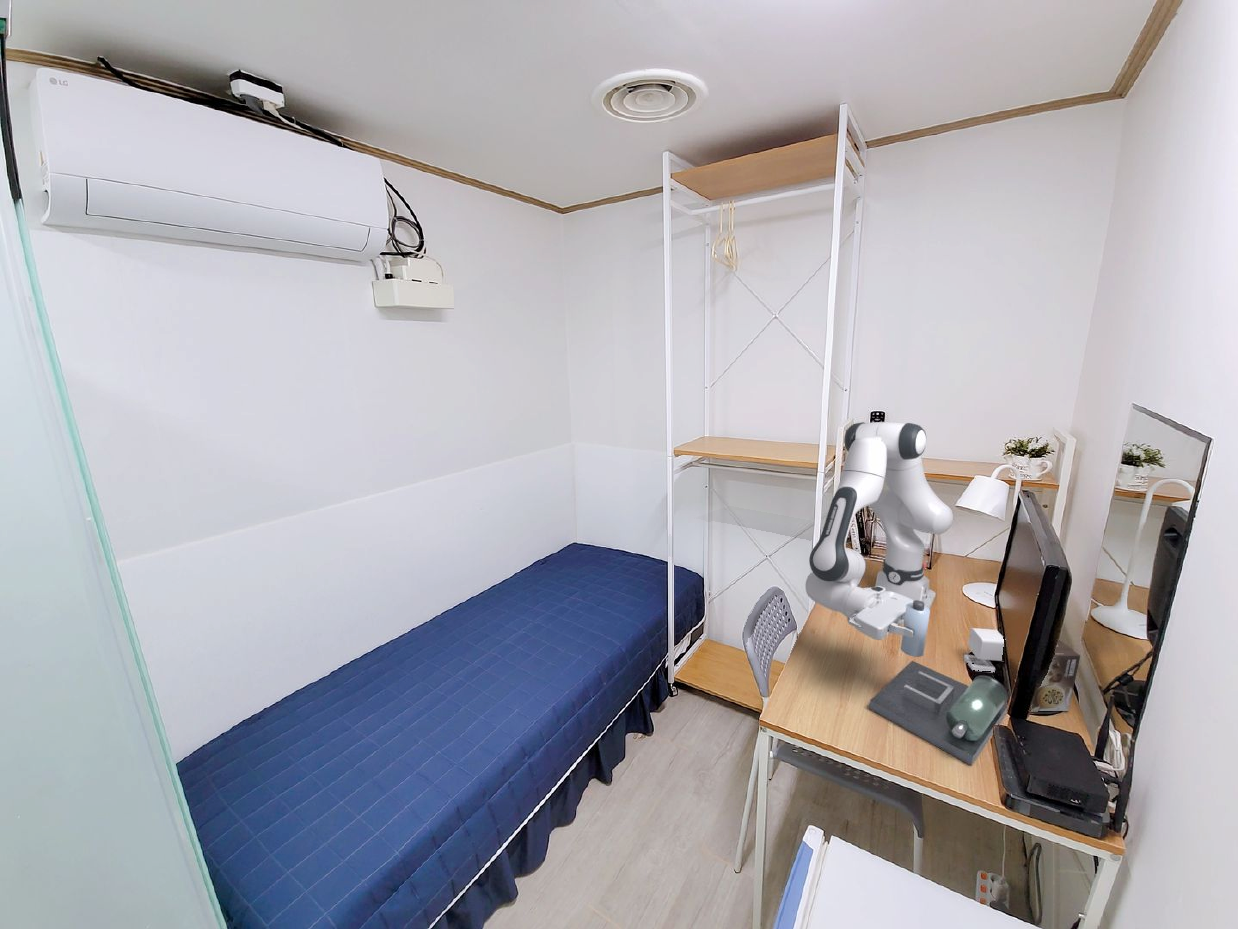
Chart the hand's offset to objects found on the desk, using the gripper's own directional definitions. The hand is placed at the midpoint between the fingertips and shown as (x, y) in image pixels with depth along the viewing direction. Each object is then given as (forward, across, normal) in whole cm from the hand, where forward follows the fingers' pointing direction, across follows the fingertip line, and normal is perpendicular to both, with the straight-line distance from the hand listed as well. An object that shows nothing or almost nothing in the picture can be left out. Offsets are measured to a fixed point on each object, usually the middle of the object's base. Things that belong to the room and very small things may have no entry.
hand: (919, 629), depth 122 cm
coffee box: (+21, +22, +20) cm, 37 cm away
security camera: (+7, +28, +20) cm, 35 cm away
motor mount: (+6, 0, +20) cm, 21 cm away
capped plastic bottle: (-1, 0, +7) cm, 7 cm away
